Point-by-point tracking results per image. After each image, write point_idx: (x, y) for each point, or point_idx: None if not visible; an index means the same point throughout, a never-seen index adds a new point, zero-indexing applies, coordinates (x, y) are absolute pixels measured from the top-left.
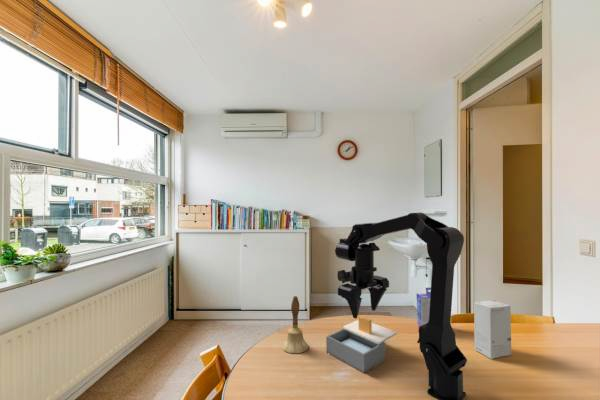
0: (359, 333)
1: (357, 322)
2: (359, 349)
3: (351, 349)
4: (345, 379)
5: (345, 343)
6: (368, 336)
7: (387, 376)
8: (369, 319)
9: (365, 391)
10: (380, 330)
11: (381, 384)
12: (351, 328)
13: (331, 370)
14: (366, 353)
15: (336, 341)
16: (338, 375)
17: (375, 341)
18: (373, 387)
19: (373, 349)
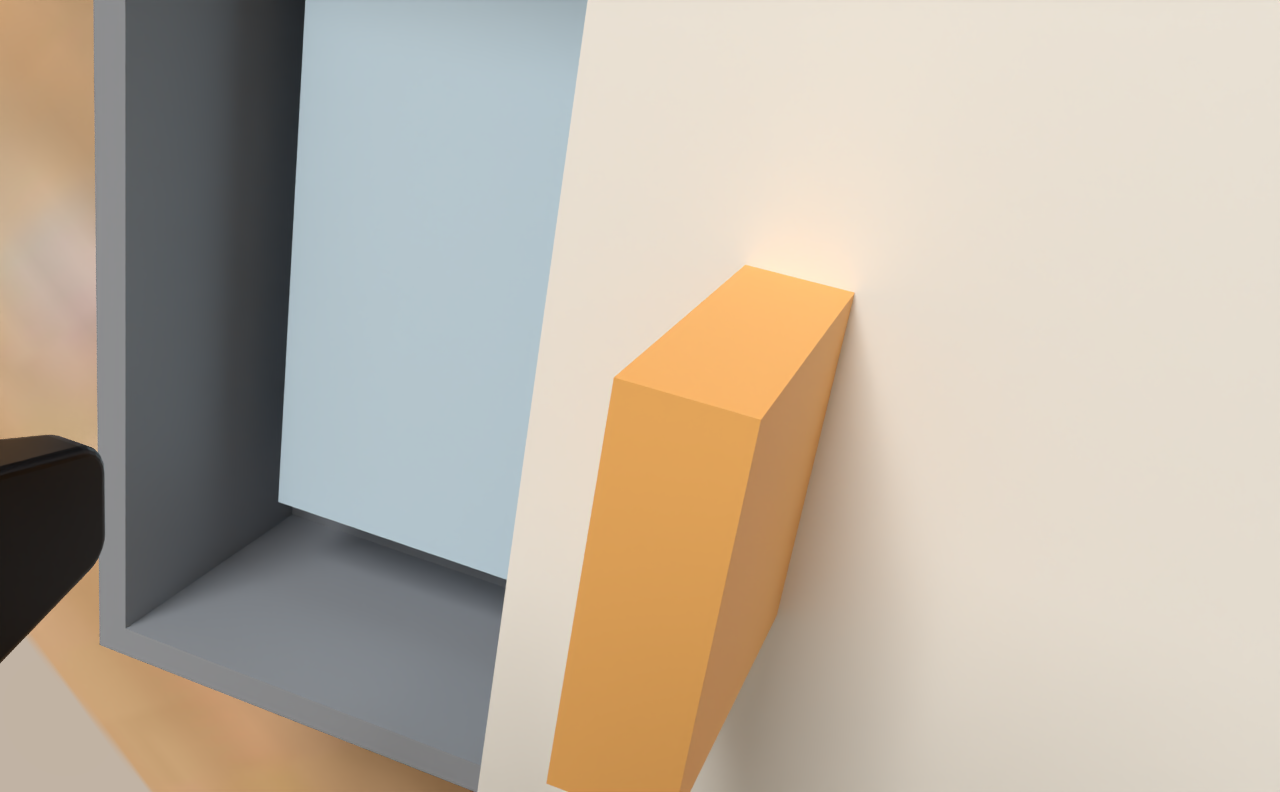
0: (566, 368)
1: None
2: (501, 367)
3: (106, 402)
4: (51, 367)
5: (518, 18)
6: (565, 598)
7: (425, 775)
8: (663, 766)
9: (61, 626)
10: (1061, 770)
11: (257, 742)
12: (688, 51)
13: (51, 119)
14: (165, 665)
15: (95, 14)
16: (45, 257)
17: (486, 763)
18: (161, 680)
19: (335, 735)
